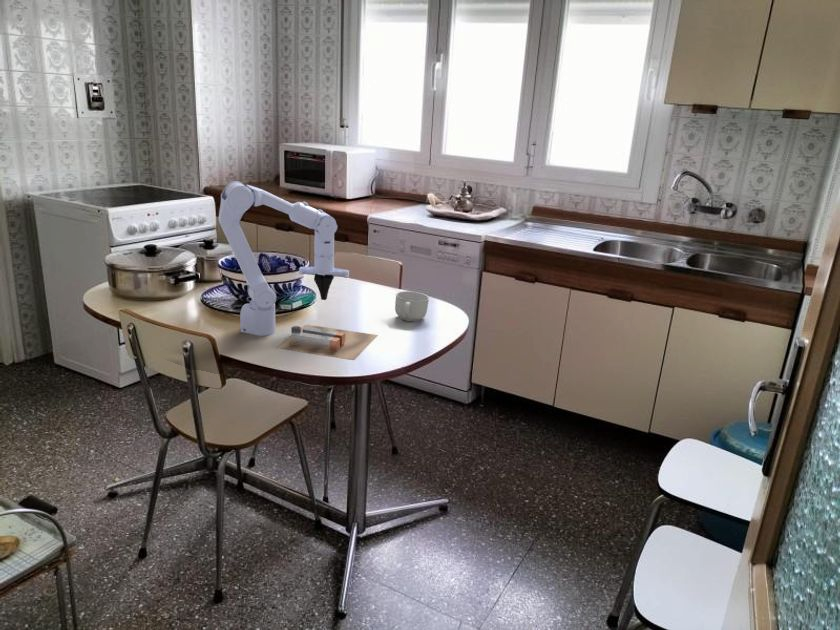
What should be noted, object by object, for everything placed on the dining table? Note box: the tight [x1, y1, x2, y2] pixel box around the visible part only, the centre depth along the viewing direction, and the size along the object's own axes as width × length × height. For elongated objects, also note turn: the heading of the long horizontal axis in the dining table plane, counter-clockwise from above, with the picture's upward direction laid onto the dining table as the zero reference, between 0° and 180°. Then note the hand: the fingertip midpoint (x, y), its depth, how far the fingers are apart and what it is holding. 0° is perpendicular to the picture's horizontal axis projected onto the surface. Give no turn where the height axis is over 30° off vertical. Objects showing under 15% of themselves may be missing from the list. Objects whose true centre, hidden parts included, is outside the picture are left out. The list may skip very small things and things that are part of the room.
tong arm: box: [303, 327, 345, 346], centre depth 173 cm, size 12×2×3 cm, turn 74°
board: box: [275, 324, 379, 361], centre depth 175 cm, size 23×20×1 cm
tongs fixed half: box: [290, 325, 340, 351], centre depth 171 cm, size 15×4×4 cm, turn 75°
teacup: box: [394, 290, 430, 322], centre depth 198 cm, size 14×11×8 cm
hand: (324, 298), depth 184 cm, fingers closed
